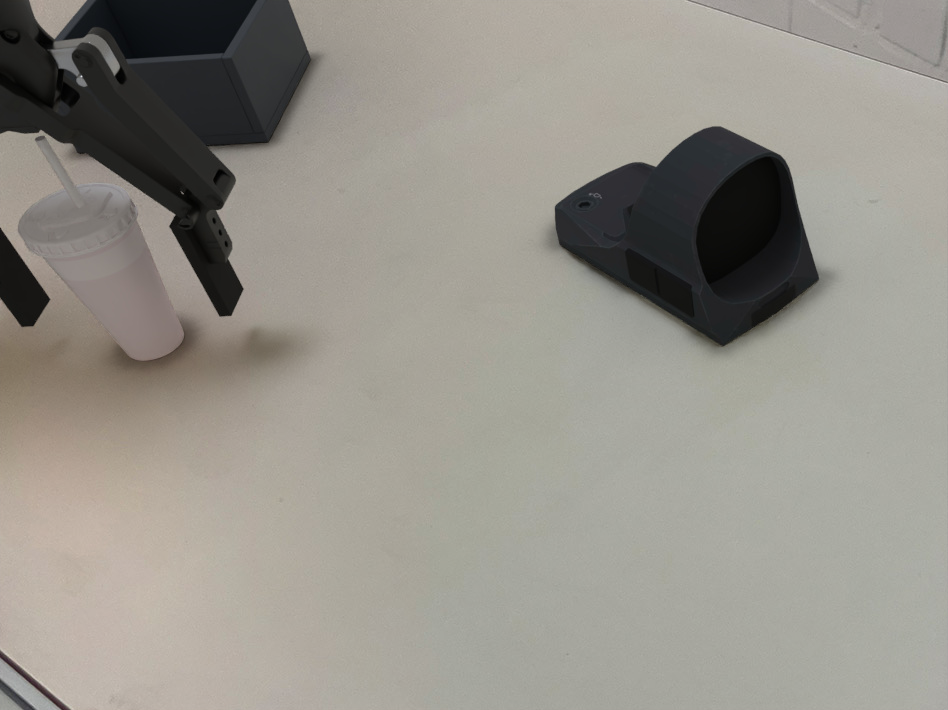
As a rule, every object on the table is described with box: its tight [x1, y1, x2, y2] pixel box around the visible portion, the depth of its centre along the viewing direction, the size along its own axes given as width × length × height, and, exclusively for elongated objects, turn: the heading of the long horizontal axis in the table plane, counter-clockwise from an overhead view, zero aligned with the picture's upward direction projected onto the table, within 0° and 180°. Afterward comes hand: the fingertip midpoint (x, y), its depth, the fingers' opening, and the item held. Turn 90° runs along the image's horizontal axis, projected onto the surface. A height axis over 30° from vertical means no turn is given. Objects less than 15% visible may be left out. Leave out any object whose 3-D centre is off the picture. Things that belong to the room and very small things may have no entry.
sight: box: [554, 125, 820, 347], centre depth 68 cm, size 9×18×10 cm, turn 45°
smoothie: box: [17, 135, 185, 362], centre depth 64 cm, size 6×6×14 cm
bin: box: [54, 0, 312, 154], centre depth 87 cm, size 16×14×7 cm
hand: (134, 308), depth 68 cm, fingers open, 12 cm apart
